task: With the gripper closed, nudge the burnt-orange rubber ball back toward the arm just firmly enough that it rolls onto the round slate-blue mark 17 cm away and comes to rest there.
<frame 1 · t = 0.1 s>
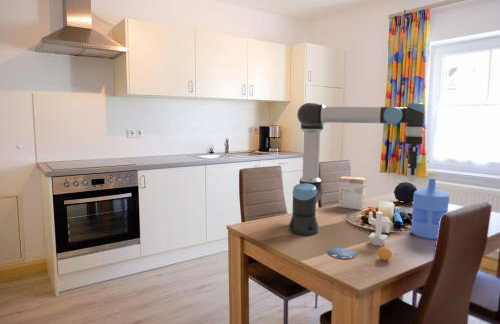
hand: (410, 179, 170), 28 cm above the table, tool pointing down, fingers open, 13 cm apart
die: (382, 232, 178), on the table
figurine: (377, 244, 162), on the table
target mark: (341, 253, 150), on the table
water jug: (427, 234, 175), on the table
decorative orb: (404, 203, 237), on the table
coffeecake box: (351, 207, 225), on the table
ball: (384, 253, 144), on the table
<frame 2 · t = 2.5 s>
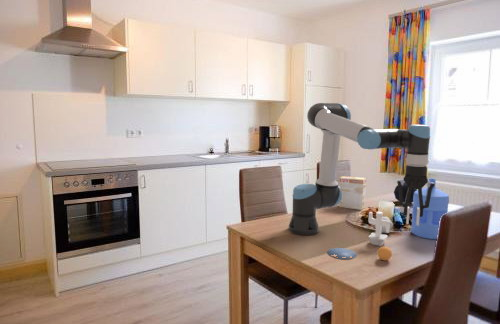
hand: (412, 223, 138), 17 cm above the table, tool pointing down, fingers open, 3 cm apart
nothing on the table moved.
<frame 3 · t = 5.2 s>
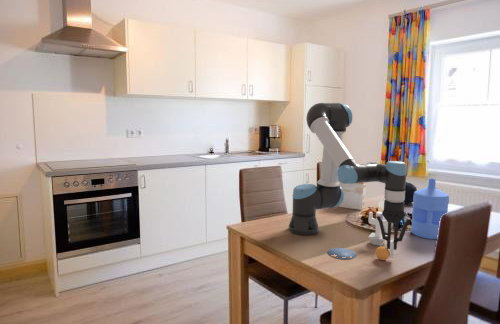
hand: (391, 256, 143), 2 cm above the table, tool pointing down, fingers closed
ball: (382, 253, 144), on the table, touching gripper
everything else where it was.
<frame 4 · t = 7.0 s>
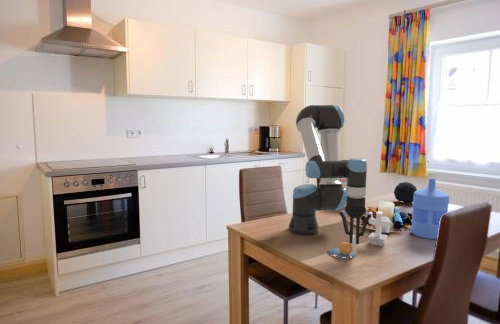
hand: (353, 250, 148), 2 cm above the table, tool pointing down, fingers closed
ball: (345, 248, 149), on the table, touching gripper
everything else where it was.
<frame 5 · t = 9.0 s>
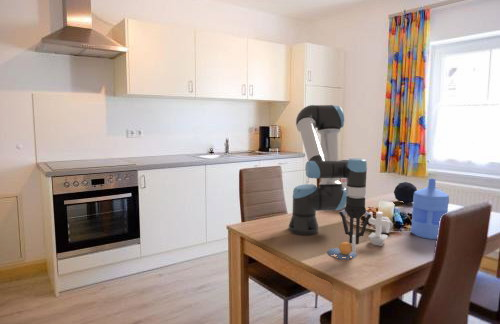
hand: (353, 250, 148), 2 cm above the table, tool pointing down, fingers closed
nothing on the table moved.
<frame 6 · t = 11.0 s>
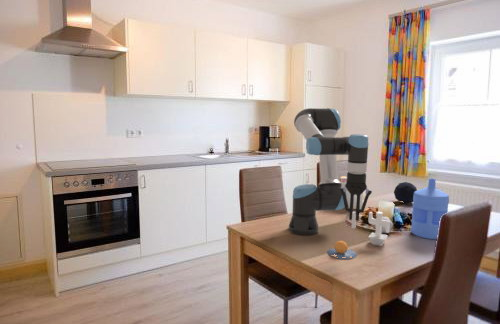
hand: (353, 227, 147), 12 cm above the table, tool pointing down, fingers closed
ball: (341, 247, 150), on the table
everything else where it was.
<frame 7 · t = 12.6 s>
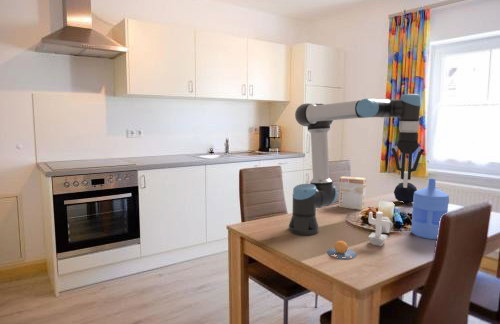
hand: (405, 186, 150), 29 cm above the table, tool pointing down, fingers closed
nothing on the table moved.
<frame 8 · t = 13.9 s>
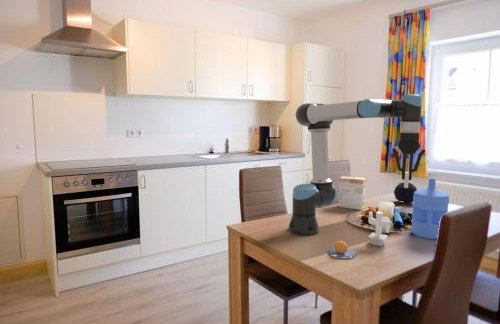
hand: (405, 187, 150), 28 cm above the table, tool pointing down, fingers closed
nothing on the table moved.
at the end: ball 0.5 cm from the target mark (horizontally); ball at rest at the end (0.0 cm/s); ball moved 17.4 cm from its start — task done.
